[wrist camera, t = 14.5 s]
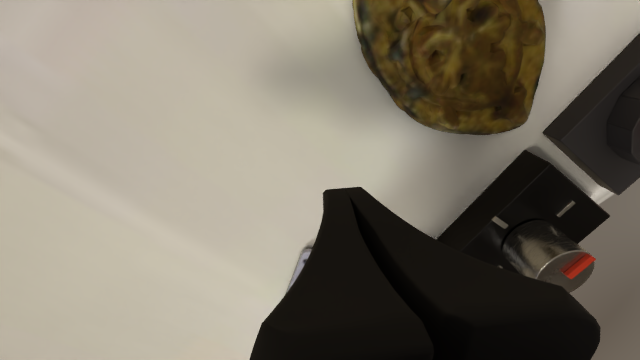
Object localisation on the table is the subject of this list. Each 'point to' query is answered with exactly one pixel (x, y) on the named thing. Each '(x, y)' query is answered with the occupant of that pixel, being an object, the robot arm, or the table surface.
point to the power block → (605, 124)
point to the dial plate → (522, 210)
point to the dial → (547, 255)
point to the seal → (456, 59)
